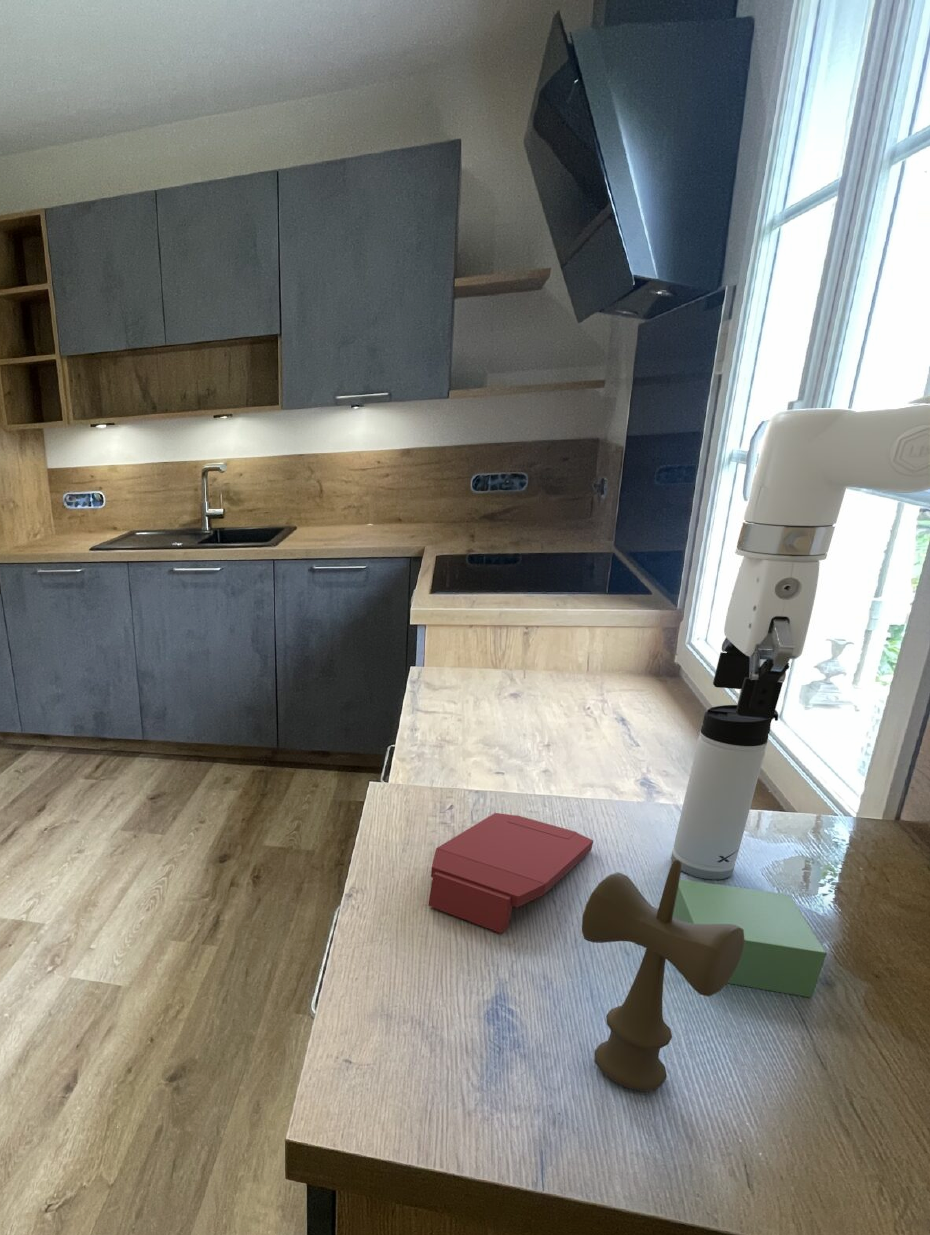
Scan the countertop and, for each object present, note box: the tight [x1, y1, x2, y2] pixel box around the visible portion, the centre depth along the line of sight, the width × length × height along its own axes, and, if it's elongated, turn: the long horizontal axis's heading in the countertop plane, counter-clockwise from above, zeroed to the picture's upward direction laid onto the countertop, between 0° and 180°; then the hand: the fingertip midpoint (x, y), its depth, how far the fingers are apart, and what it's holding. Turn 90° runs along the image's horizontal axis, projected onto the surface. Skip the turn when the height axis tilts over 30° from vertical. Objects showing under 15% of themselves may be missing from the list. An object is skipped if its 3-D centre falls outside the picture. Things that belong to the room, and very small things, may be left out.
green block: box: [673, 878, 827, 998], centre depth 77 cm, size 10×10×5 cm
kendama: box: [581, 860, 745, 1092], centre depth 61 cm, size 6×10×20 cm, turn 34°
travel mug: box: [670, 704, 779, 880], centre depth 90 cm, size 6×7×20 cm
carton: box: [427, 812, 594, 934], centre depth 93 cm, size 12×5×25 cm
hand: (740, 701), depth 86 cm, fingers open, 9 cm apart
